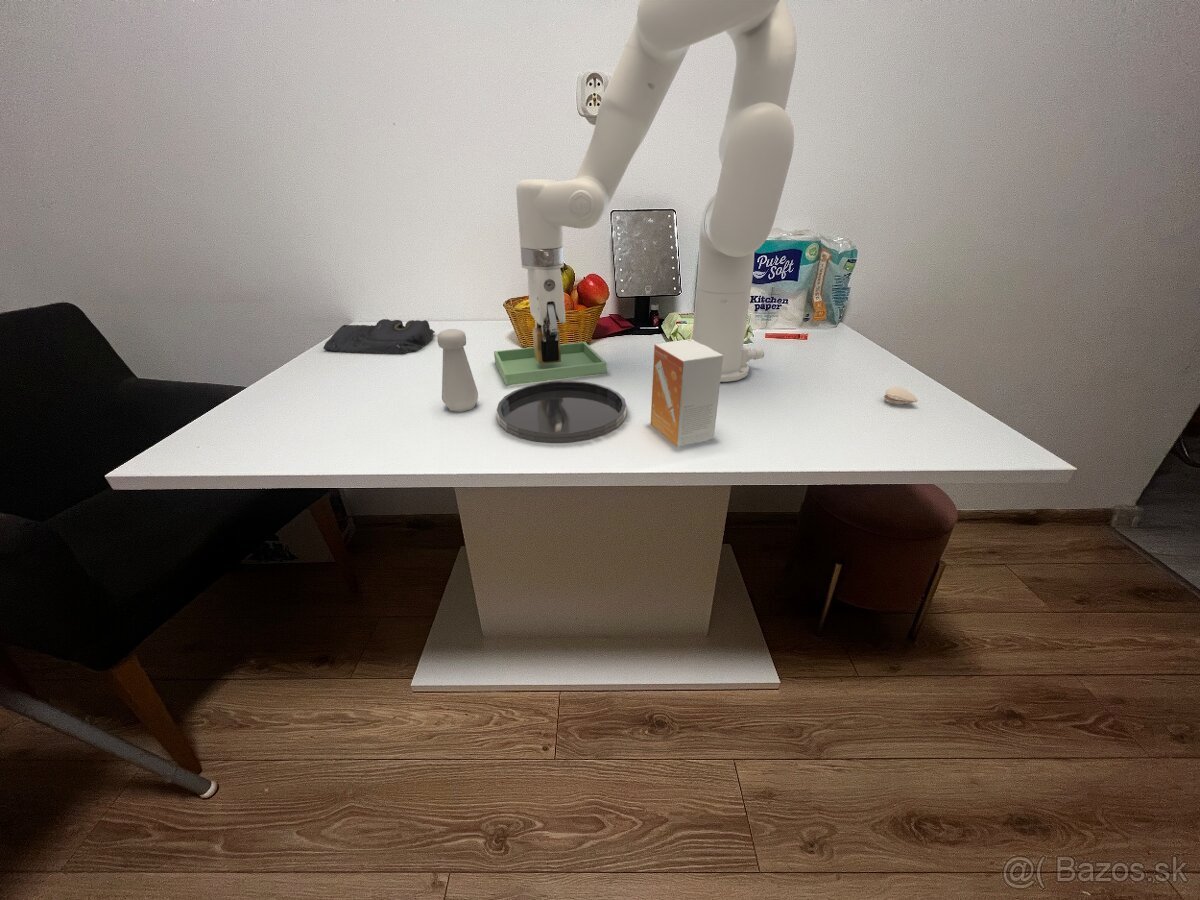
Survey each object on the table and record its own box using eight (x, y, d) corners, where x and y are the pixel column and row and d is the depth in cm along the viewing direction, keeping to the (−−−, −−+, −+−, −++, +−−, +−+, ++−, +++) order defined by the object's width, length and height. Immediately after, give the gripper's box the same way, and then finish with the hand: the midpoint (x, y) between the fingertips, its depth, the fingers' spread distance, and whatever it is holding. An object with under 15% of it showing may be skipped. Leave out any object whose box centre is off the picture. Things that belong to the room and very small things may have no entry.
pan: (602, 385, 93) (602, 375, 92) (645, 433, 76) (645, 421, 75) (490, 400, 87) (489, 389, 86) (510, 455, 70) (508, 442, 69)
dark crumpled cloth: (354, 332, 124) (349, 313, 122) (441, 334, 122) (438, 314, 120) (317, 352, 111) (311, 330, 109) (414, 354, 109) (409, 332, 107)
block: (556, 355, 102) (554, 326, 99) (561, 362, 99) (559, 331, 96) (534, 358, 101) (532, 328, 98) (538, 364, 97) (536, 333, 94)
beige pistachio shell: (888, 396, 87) (892, 382, 86) (920, 404, 84) (924, 390, 83) (878, 403, 85) (882, 389, 83) (911, 412, 82) (915, 397, 80)
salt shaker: (470, 417, 81) (459, 337, 75) (437, 414, 82) (423, 335, 76) (485, 403, 86) (475, 326, 80) (453, 400, 87) (442, 325, 81)
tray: (585, 353, 109) (584, 341, 108) (606, 375, 97) (606, 362, 96) (495, 363, 104) (493, 351, 103) (506, 387, 92) (504, 374, 91)
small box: (649, 426, 78) (653, 343, 71) (685, 419, 80) (692, 337, 74) (676, 450, 71) (683, 360, 65) (714, 441, 73) (725, 354, 67)
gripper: (575, 264, 85) (578, 368, 93) (551, 250, 98) (556, 343, 107) (531, 266, 83) (537, 373, 91) (513, 252, 96) (520, 346, 105)
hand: (547, 356), depth 99 cm, fingers closed on block, 4 cm apart
